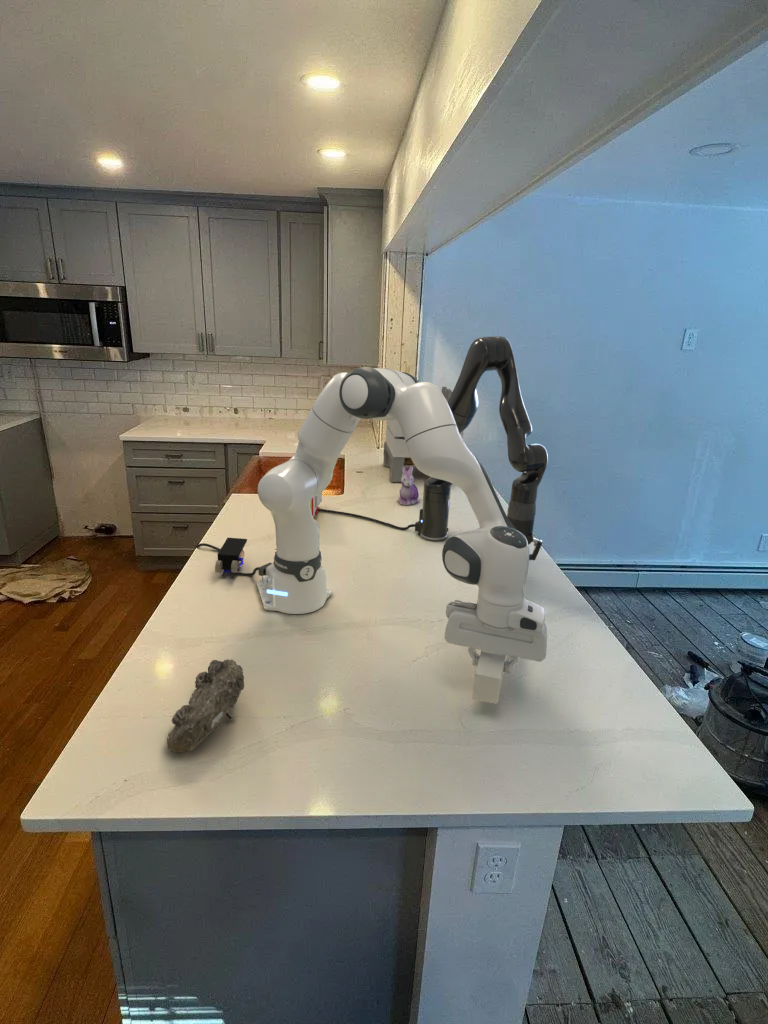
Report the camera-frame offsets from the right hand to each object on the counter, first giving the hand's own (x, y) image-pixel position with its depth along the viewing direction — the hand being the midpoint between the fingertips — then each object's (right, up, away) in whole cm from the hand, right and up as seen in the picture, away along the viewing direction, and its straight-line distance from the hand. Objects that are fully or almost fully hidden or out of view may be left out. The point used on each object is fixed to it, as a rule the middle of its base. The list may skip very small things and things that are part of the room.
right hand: (513, 569), depth 165 cm
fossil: (-70, -22, -56) cm, 93 cm away
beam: (-8, -10, -23) cm, 27 cm away
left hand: (-16, -15, -48) cm, 53 cm away
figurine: (-28, +21, +69) cm, 77 cm away
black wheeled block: (-82, 0, +3) cm, 83 cm away
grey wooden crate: (-20, +35, +110) cm, 118 cm away
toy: (-68, +14, +46) cm, 83 cm away
